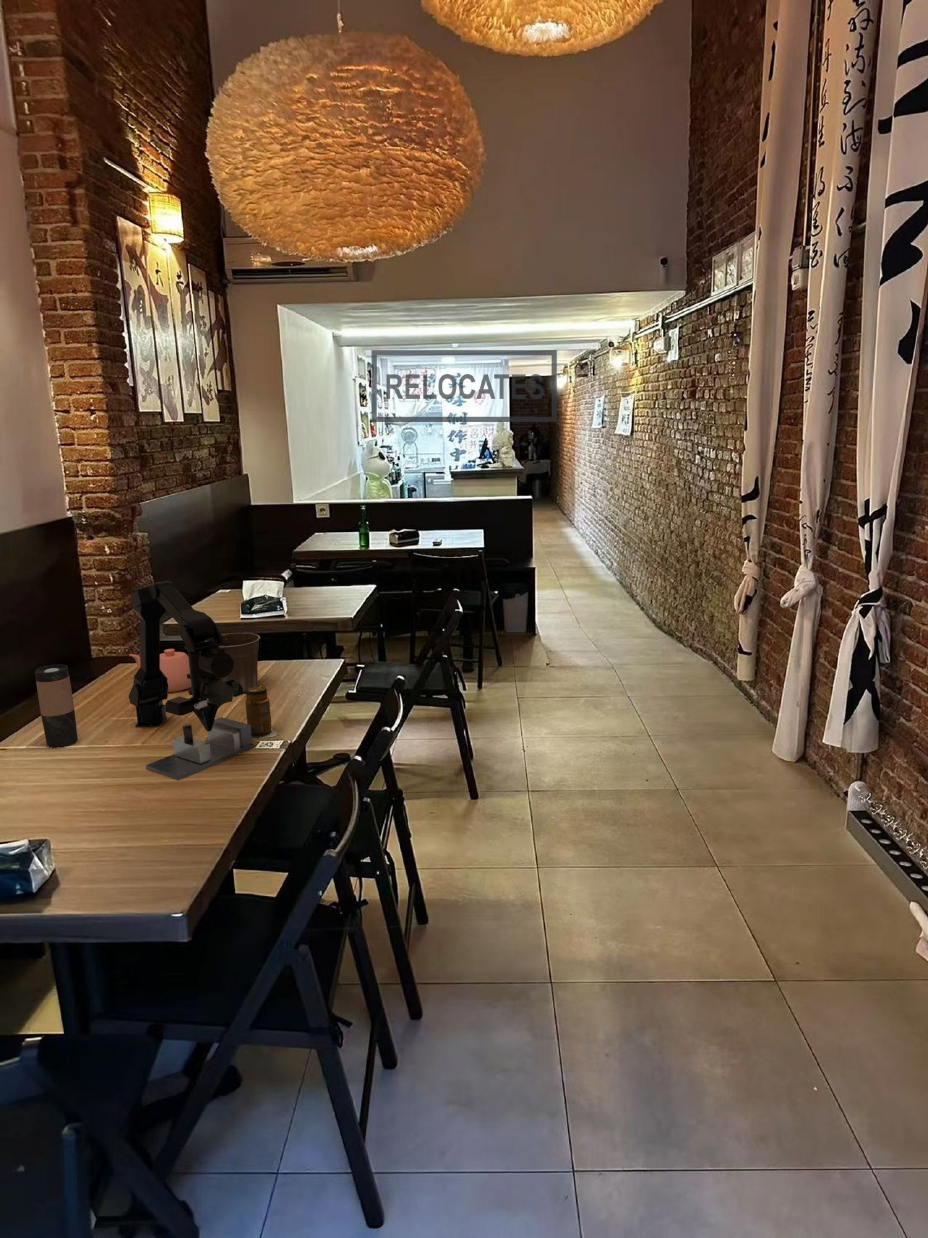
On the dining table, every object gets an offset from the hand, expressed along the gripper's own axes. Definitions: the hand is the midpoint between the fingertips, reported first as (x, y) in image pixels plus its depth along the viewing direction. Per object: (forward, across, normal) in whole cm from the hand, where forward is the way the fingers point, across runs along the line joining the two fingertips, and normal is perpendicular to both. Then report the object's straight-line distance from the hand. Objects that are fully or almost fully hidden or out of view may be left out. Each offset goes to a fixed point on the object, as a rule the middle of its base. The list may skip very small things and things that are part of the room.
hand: (208, 731), depth 189 cm
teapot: (+6, +29, +56) cm, 63 cm away
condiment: (+6, +16, 0) cm, 17 cm away
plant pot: (+6, +38, +36) cm, 52 cm away
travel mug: (+6, -15, +40) cm, 43 cm away
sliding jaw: (+5, -5, 0) cm, 7 cm away
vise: (+6, -3, 0) cm, 7 cm away
